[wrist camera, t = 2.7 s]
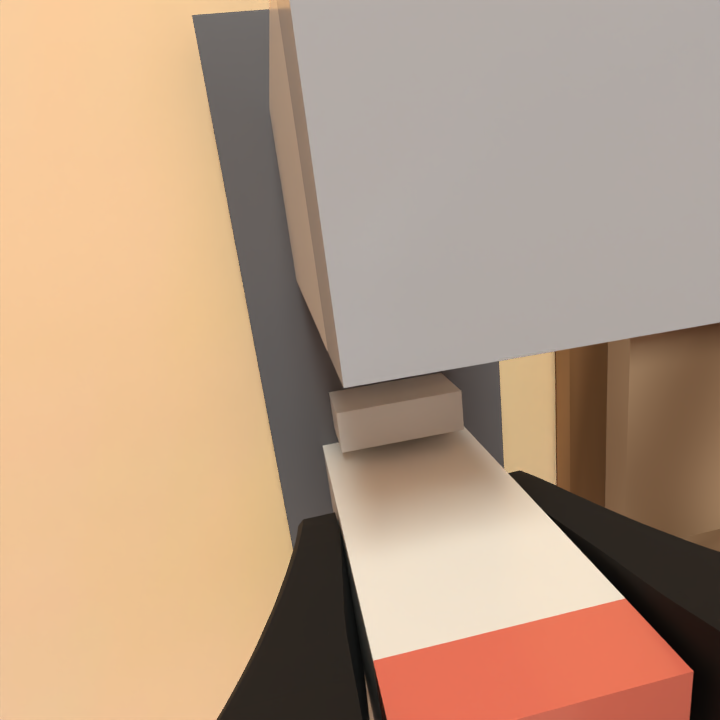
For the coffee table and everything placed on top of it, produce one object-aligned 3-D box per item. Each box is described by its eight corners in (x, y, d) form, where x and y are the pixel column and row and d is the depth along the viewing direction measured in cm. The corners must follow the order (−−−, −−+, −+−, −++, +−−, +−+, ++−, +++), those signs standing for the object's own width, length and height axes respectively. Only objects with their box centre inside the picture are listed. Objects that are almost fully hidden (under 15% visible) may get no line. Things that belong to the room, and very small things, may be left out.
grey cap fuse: (434, 92, 9) (763, -159, 3) (446, 258, 10) (723, 321, 4) (269, 109, 9) (269, -142, 3) (296, 280, 10) (344, 388, 4)
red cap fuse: (458, 419, 11) (694, 671, 5) (466, 536, 12) (676, 875, 6) (322, 445, 11) (394, 752, 5) (341, 564, 12) (423, 957, 5)
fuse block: (457, 18, 10) (512, -40, 8) (499, 729, 16) (539, 817, 13) (201, 39, 9) (179, -18, 7) (338, 773, 15) (351, 873, 13)
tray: (812, 239, 13) (907, 243, 11) (776, 514, 15) (849, 556, 13) (554, 279, 12) (609, 291, 10) (558, 564, 14) (603, 618, 12)
